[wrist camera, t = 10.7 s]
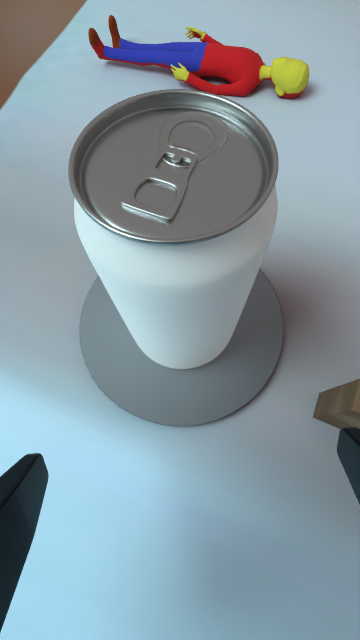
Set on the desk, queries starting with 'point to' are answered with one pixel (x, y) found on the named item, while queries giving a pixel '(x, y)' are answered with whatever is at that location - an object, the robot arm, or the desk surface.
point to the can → (176, 216)
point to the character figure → (208, 63)
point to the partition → (340, 406)
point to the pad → (182, 384)
